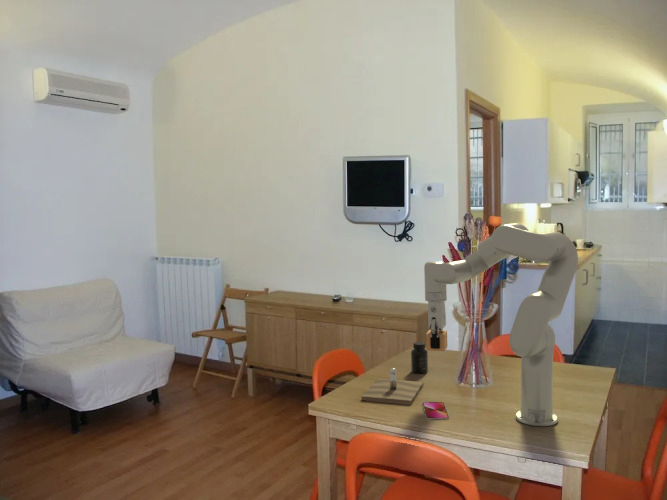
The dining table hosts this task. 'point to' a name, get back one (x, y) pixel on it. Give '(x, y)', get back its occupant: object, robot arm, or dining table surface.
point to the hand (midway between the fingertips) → (437, 345)
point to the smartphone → (435, 411)
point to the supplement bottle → (419, 358)
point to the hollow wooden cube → (442, 340)
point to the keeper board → (393, 392)
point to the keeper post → (393, 379)
